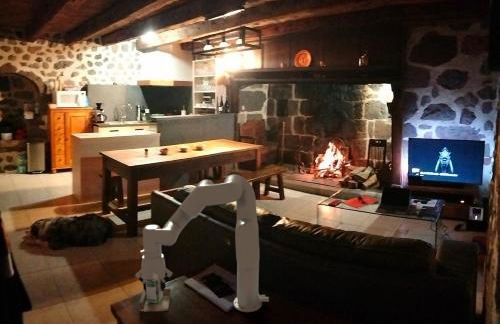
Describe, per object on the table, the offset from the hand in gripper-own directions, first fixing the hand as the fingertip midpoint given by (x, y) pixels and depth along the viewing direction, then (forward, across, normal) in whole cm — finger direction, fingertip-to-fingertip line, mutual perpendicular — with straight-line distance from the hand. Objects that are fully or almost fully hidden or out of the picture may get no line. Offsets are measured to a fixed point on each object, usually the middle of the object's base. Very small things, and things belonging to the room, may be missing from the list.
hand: (154, 289), depth 180 cm
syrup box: (+5, 0, 0) cm, 5 cm away
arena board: (+7, 0, 0) cm, 7 cm away
